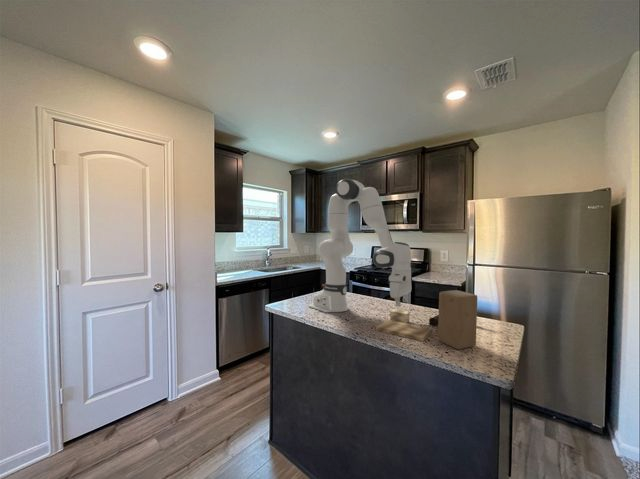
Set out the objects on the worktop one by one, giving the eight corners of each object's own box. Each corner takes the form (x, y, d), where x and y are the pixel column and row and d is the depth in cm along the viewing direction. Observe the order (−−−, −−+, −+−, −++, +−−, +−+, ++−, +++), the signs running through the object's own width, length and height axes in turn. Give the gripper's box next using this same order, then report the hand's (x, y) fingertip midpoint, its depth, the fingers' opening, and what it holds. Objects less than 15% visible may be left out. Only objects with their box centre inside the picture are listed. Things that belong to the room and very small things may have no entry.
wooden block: (458, 350, 100) (459, 296, 100) (436, 340, 109) (438, 291, 109) (477, 346, 104) (478, 294, 104) (454, 337, 113) (456, 289, 113)
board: (376, 330, 120) (376, 326, 120) (387, 322, 131) (387, 319, 131) (423, 341, 108) (423, 337, 108) (431, 332, 119) (431, 328, 119)
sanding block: (390, 321, 133) (390, 311, 133) (393, 318, 137) (393, 308, 137) (406, 324, 129) (406, 314, 128) (409, 322, 132) (409, 311, 132)
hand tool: (437, 327, 125) (437, 317, 125) (428, 325, 128) (428, 315, 128) (453, 319, 138) (453, 310, 138) (445, 317, 141) (445, 308, 141)
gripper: (402, 272, 142) (402, 299, 142) (387, 277, 126) (387, 307, 126) (414, 273, 138) (414, 300, 139) (400, 279, 122) (400, 309, 122)
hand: (401, 304), depth 132 cm, fingers open, 8 cm apart
